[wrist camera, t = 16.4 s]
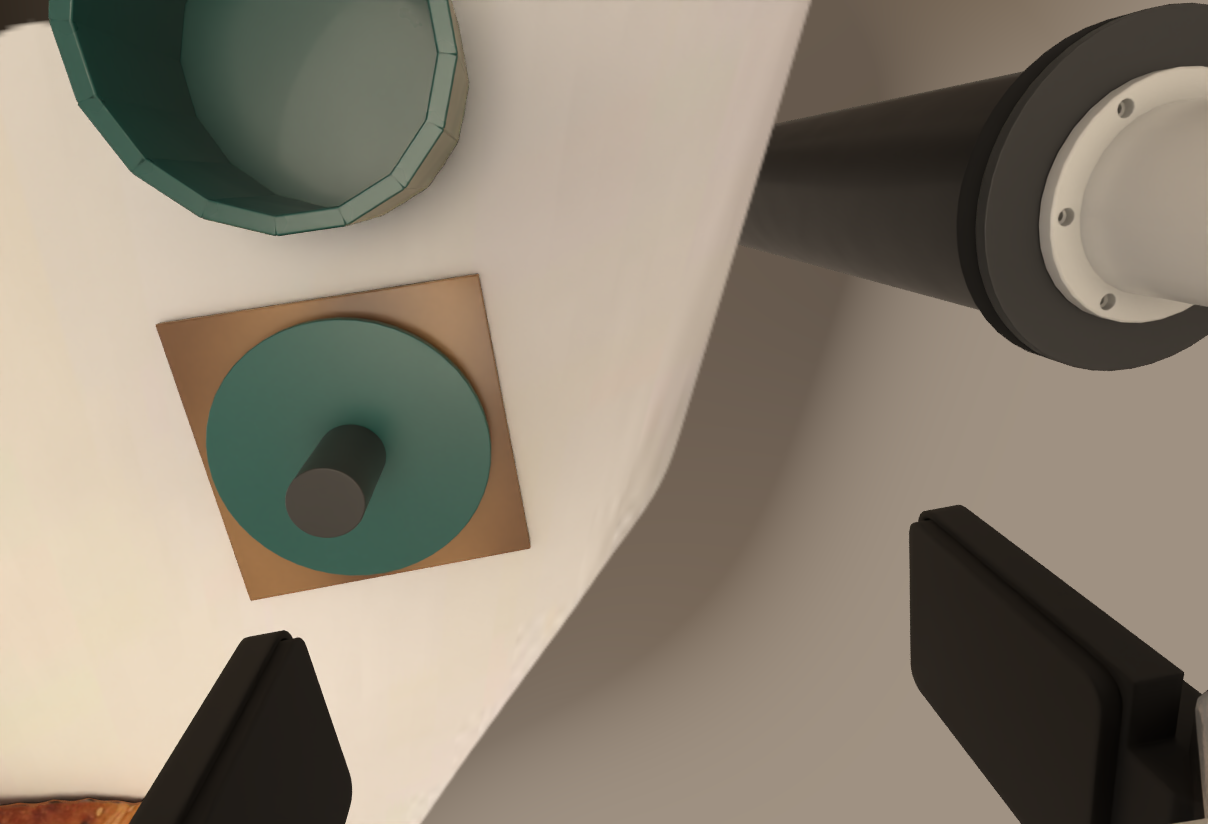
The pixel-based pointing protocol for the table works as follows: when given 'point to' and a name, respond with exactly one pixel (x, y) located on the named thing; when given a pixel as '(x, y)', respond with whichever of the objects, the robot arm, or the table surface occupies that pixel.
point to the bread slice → (69, 812)
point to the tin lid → (348, 446)
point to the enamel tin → (271, 101)
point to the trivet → (424, 309)
